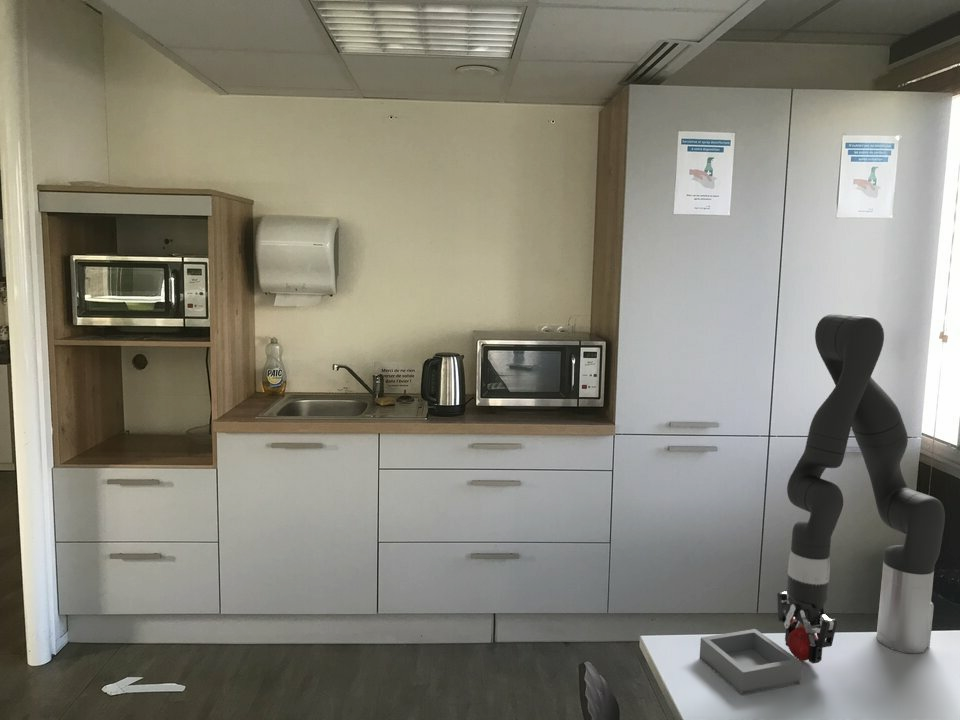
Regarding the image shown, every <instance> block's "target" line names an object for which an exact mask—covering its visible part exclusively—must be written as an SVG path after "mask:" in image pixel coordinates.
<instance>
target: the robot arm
mask: <svg viewBox="0 0 960 720" xmlns="http://www.w3.org/2000/svg"><path fill="white" fill-rule="evenodd" d="M814 340H815V345H816V348H817V351H818V353H819V355H820V358H821V359H822V361H823V363H824V365H825V368H826V370H827V371H828V373H829V375H830V377H831V379H832V380H833V383H834V385H835V387H834V388H833V389H832V391H830V394H829V395H828V397H827V398H826V399H825V400H824V401H823V403H822V404H821V405H820V407H819V408H818V409H817V410H816V412H815V413H814V416H813V417H812V420H811V423H810V426H809V429H808V433H807V438H806V443H805V447H804V451H803V453H802V455H801V457H800V459H799V460H798V462H797V463H796V466H795V467H794V470H793V471H792V473H791V474H790V477H789V479H788V482H787V486H786V493H787V497H788V500H789V501H790V503H791V504H792V505H793V506H795V507H797V508H799V509H801V510H804V511H806V512H809V513H810V514H809V515H810V516H809V519H808V520H801V521H797V522H796V523H795V524H794V525H793V527H792V532H791V546H790V554H789V558H788V566H787V580H786V591H781V592H778V593H777V595H776V597H777V617H778V621H779V622H782V623H783V625H784V628H785V635H784V641H785V646H787V647H788V636H789V634H790V633H791V632H792V631H793V630H794V629H796V628H798V626H799V624H800V623H801V625H802V624H803V625H804V626H805V631H806V633H807V634H808V635H809V639H810V643H811V645H810V650H809V660H808V661H809V663H811V664H812V665H813V664H818V663H820V662H821V661H822V657H823V648H829V647H832V645H833V641H834V637H835V634H836V633H835V632H836V628H837V625H838V621H837V620H836V618H829V617H828V616H827V615H826V611H825V609H824V606H825V604H826V603H827V601H828V599H829V585H830V572H831V562H830V557H831V556H830V554H831V543H832V536H833V533H834V531H835V529H836V526H837V523H838V520H839V519H840V517H841V513H842V511H843V508H844V496H843V493H842V492H843V491H842V490H841V489H840V487H839V486H838V485H837V484H836V483H834V482H833V481H830V480H826V479H823V478H821V477H822V475H823V473H824V472H825V470H826V469H837V468H839V467H841V466H842V464H843V461H844V457H845V454H846V451H847V446H848V442H849V441H848V440H849V438H850V433H851V429H852V433H853V435H854V438H855V441H856V443H857V446H858V447H859V450H860V453H861V455H862V458H863V461H864V464H865V467H866V470H867V473H868V476H869V479H870V483H871V487H872V492H873V495H874V501H875V504H876V508H877V511H878V514H879V518H880V519H881V520H882V522H883V524H885V525H886V526H888V527H889V528H890V529H892V530H896V531H897V532H900V533H901V534H905V539H904V544H898V545H895V544H893V545H890V546H887V547H886V548H885V549H884V552H883V560H882V561H883V563H882V571H881V572H882V573H881V574H882V575H881V585H880V597H879V605H878V607H879V608H878V617H877V625H876V626H877V629H876V640H877V641H878V642H879V643H881V644H882V645H883V646H885V647H887V648H890V649H892V650H893V651H898V652H902V653H907V654H921V653H925V651H926V650H927V648H928V647H930V646H931V638H932V637H931V636H932V628H933V627H932V626H933V617H934V608H935V607H934V602H932V595H933V586H934V584H933V583H934V575H935V565H936V563H937V561H938V558H939V556H940V553H941V546H942V541H943V535H944V529H945V522H946V513H945V508H944V505H943V503H942V501H941V500H939V499H938V498H936V497H934V496H931V495H930V494H926V493H923V492H919V491H917V490H914V489H911V488H910V487H909V486H908V484H907V483H906V481H905V478H904V476H903V474H902V473H903V472H902V469H901V461H902V459H903V457H904V455H905V452H906V450H907V447H908V442H909V436H908V432H907V429H906V426H905V423H904V420H903V417H902V415H901V412H900V409H899V408H898V406H897V405H896V403H895V402H894V401H893V400H892V398H891V397H890V396H889V394H888V393H887V392H886V391H885V390H884V389H883V388H882V387H881V385H879V384H878V383H877V382H876V381H875V379H874V378H873V377H872V375H873V373H874V370H875V368H876V366H877V363H878V360H879V358H880V356H881V353H882V349H883V347H884V342H885V332H884V328H883V326H882V323H881V322H880V321H879V320H878V319H877V318H875V317H872V316H868V315H860V314H859V315H858V314H846V313H830V314H828V315H825V316H823V317H822V318H821V319H820V320H819V321H818V323H817V325H816V327H815V333H814ZM812 627H815V628H812ZM815 635H816V637H817V639H816V638H815Z"/></svg>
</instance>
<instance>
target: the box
mask: <svg viewBox="0 0 960 720" xmlns="http://www.w3.org/2000/svg"><path fill="white" fill-rule="evenodd" d="M699 646H700V647H699V659H700V660H701V661H702V662H703V663H704V664H705V665H706V664H707V666H708V668H710V669H711V670H712V671H713V670H714V671H715V674H716V675H718V676H719V677H720V678H721V679H722V680H723V681H725V682H726V683H727V684H728V685H729V686H730V687H732V688H733V690H735V691H736V692H737V693H738V694H740V695H741V696H744V695H749V694H753V693H754V694H755V693H760V692H764V691H770V690H774V689H780V688H784V687H785V688H786V687H790V686H796V685H800V684H801V669H802V661H800V660H798V659H797V658H796V657H795V656H794V655H793V654H792V653H791V652H789V651H787V650H785V649H784V648H783V647H782V646H780V645H779V644H778V643H776V642H774V641H773V640H772V639H770V638H769V637H768V636H766V635H765V634H763V632H761V631H759V630H758V629H756V628H752V629H746V630H739V631H734V632H733V631H732V632H727V633H720V634H716V635H709V636H703V637H700V644H699ZM714 671H713V672H714Z"/></svg>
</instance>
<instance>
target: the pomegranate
mask: <svg viewBox="0 0 960 720" xmlns="http://www.w3.org/2000/svg"><path fill="white" fill-rule="evenodd" d="M815 638H816V639H818V637H817V634H815ZM810 645H811V643H810V639H809V635H808V634H807V633H806V631H805V626H804V625H803V624H802V623H801V625H800V626H799V627H798V626H797V627H796V629H794V630H793V631H792V632H791V633H790V634H789V636H788V646H787V647H788V650H789V652H790V654H791V655H793V656H794V657H795V658H797V659H798V660H800V661H801V662H805V661H809V650H810Z"/></svg>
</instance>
